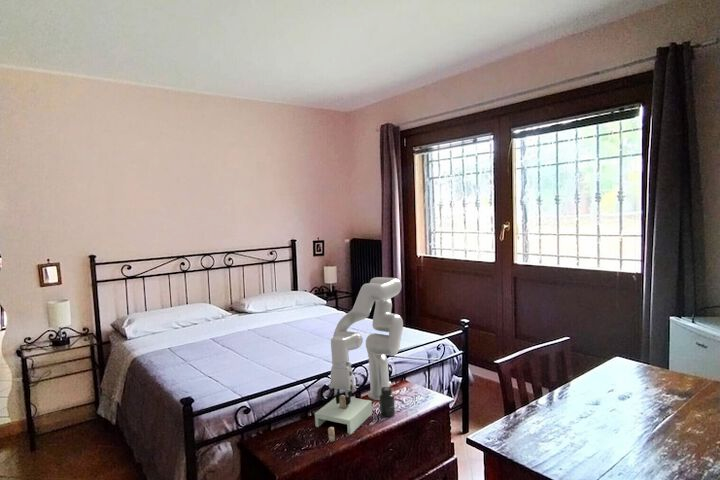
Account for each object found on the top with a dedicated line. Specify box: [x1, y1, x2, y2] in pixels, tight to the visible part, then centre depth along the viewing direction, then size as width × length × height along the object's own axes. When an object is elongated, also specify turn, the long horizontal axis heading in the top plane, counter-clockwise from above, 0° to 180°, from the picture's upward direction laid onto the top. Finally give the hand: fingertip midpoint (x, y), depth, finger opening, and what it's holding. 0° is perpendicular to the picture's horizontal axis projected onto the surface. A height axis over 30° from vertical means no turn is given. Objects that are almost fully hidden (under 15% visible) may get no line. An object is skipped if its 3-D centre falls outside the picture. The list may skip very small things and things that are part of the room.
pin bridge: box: [314, 395, 373, 435], centre depth 196 cm, size 20×18×6 cm
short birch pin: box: [327, 426, 336, 443], centre depth 179 cm, size 2×2×5 cm
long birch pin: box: [339, 394, 346, 409], centre depth 196 cm, size 2×2×11 cm
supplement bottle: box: [379, 387, 396, 418], centre depth 198 cm, size 7×7×12 cm
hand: (343, 403), depth 195 cm, fingers open, 4 cm apart
